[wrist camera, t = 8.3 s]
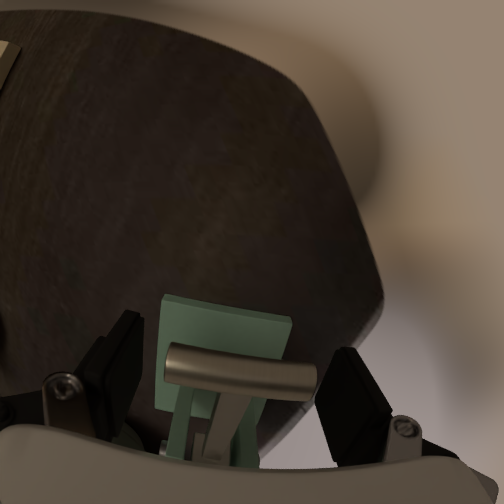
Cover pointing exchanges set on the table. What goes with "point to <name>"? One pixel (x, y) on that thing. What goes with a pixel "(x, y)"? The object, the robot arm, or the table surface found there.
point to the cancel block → (7, 59)
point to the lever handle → (233, 390)
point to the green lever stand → (222, 339)
